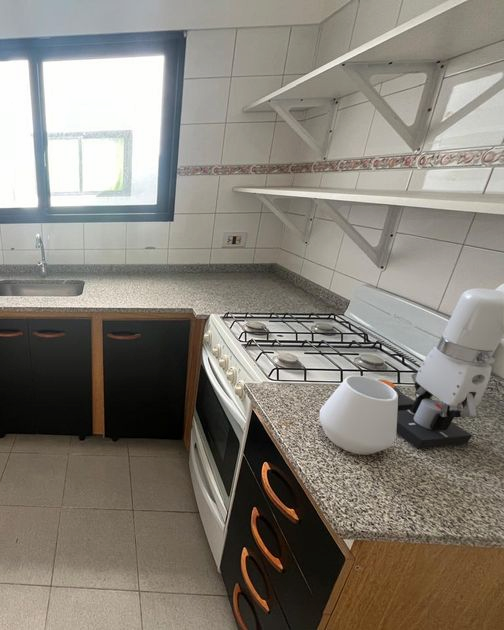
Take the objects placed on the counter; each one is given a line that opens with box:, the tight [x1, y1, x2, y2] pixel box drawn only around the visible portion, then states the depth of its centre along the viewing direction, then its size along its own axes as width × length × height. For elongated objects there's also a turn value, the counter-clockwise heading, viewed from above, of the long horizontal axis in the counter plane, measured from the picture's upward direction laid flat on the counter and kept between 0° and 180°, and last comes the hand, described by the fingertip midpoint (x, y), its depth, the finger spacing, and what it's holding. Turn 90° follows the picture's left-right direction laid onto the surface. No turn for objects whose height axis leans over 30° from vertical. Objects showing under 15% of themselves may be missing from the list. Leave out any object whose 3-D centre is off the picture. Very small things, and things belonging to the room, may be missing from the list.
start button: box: [377, 379, 396, 389], centre depth 86 cm, size 4×4×2 cm
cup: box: [319, 374, 398, 456], centre depth 73 cm, size 13×13×14 cm
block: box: [394, 386, 415, 411], centre depth 87 cm, size 11×9×4 cm
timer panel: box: [396, 410, 473, 450], centre depth 78 cm, size 12×9×3 cm
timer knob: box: [413, 398, 442, 429], centre depth 76 cm, size 4×4×5 cm
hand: (427, 420), depth 77 cm, fingers closed on timer knob, 4 cm apart
